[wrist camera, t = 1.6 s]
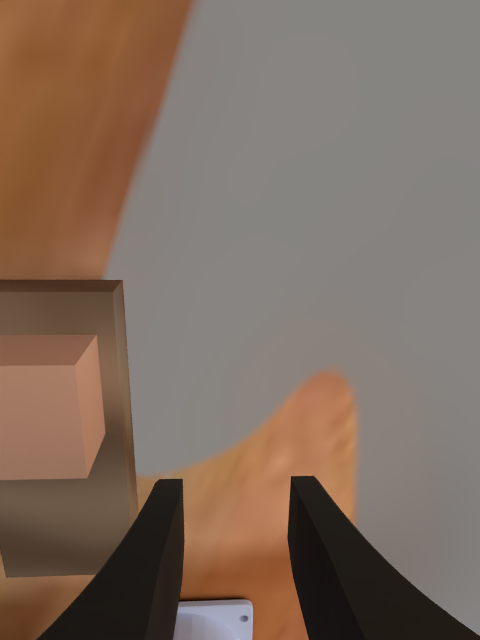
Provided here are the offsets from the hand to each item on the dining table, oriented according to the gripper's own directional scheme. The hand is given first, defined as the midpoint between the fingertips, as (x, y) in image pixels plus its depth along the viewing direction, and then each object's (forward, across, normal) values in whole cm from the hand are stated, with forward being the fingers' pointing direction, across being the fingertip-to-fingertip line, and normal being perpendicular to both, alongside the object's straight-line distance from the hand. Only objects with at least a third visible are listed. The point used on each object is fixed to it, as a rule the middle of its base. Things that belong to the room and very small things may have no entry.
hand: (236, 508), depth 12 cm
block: (+7, +8, 0) cm, 11 cm away
